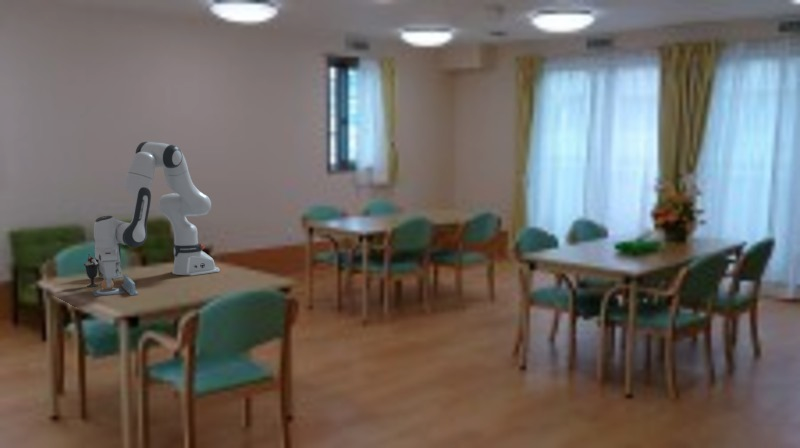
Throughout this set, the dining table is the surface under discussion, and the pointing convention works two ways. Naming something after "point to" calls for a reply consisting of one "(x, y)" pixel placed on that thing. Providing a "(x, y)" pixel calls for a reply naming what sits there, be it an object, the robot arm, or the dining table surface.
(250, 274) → the dining table surface
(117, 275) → the coffee box
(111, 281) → the ball
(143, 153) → the robot arm
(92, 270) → the sundae
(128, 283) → the low wall
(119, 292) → the mat
